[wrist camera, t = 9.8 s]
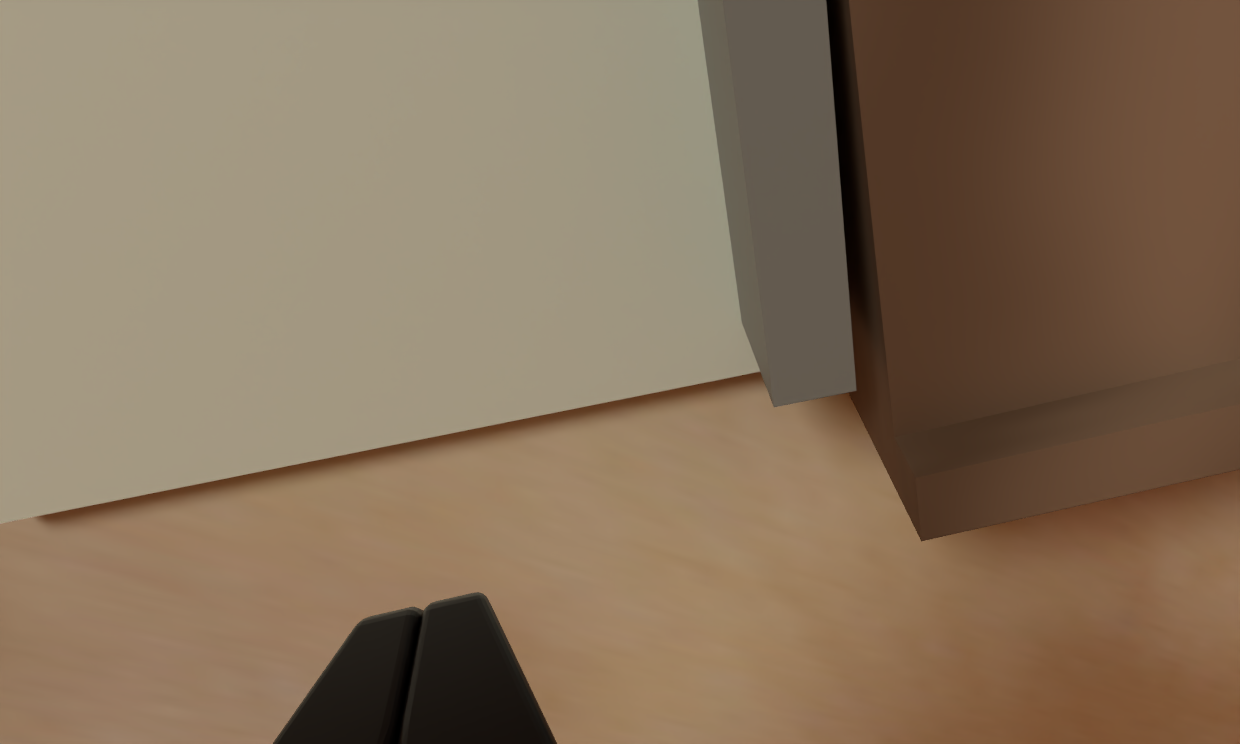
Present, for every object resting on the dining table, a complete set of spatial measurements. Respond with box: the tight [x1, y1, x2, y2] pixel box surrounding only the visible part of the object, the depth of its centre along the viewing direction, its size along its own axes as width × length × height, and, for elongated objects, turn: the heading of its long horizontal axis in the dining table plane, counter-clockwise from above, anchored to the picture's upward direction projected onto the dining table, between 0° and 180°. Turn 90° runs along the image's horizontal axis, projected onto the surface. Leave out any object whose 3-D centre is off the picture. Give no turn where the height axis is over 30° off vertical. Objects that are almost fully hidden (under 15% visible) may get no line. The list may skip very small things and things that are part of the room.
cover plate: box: [0, 0, 856, 524], centre depth 16 cm, size 14×10×4 cm
